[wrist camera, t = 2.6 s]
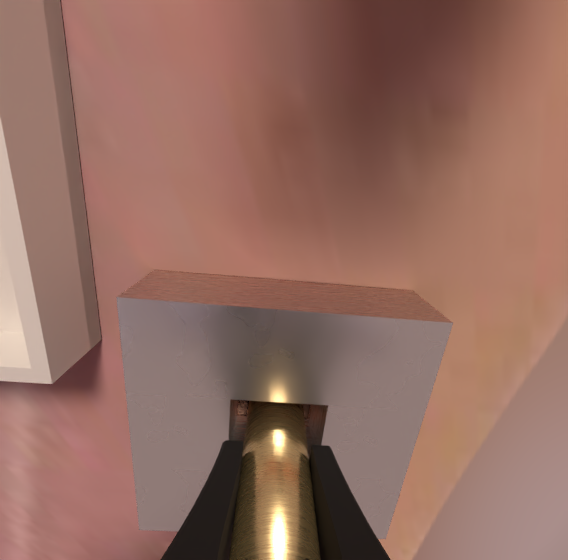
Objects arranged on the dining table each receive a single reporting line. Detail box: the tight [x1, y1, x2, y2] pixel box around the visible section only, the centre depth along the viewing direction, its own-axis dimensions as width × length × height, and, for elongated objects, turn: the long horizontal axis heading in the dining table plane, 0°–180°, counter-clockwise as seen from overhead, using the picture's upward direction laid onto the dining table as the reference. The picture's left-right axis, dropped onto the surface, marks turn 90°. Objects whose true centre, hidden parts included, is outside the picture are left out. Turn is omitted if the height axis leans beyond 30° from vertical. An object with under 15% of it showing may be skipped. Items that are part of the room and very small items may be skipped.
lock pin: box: [229, 401, 321, 560], centre depth 10 cm, size 2×2×8 cm
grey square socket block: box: [117, 270, 453, 539], centre depth 13 cm, size 11×11×3 cm
